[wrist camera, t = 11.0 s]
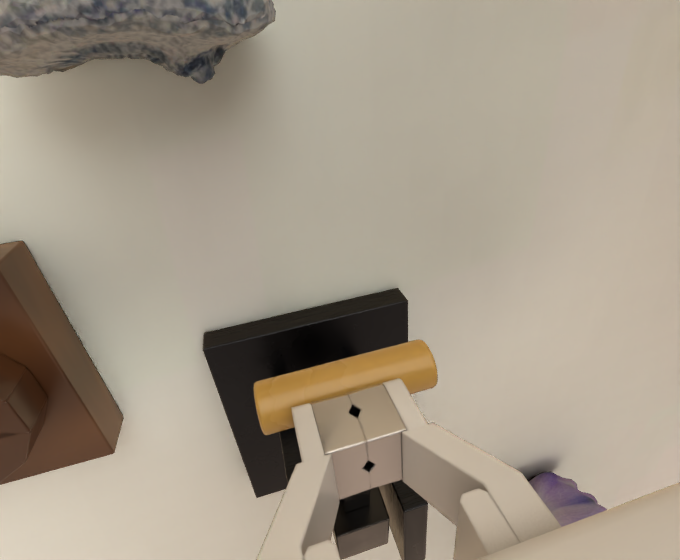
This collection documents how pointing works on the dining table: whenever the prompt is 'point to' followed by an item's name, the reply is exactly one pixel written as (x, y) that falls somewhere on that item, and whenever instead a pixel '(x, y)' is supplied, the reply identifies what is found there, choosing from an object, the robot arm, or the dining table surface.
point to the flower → (564, 498)
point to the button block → (45, 379)
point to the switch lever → (336, 379)
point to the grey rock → (125, 33)
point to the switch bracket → (300, 353)
